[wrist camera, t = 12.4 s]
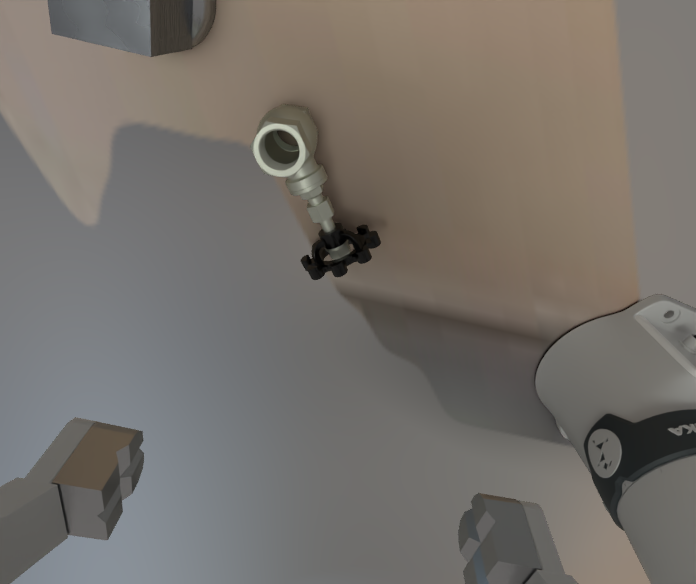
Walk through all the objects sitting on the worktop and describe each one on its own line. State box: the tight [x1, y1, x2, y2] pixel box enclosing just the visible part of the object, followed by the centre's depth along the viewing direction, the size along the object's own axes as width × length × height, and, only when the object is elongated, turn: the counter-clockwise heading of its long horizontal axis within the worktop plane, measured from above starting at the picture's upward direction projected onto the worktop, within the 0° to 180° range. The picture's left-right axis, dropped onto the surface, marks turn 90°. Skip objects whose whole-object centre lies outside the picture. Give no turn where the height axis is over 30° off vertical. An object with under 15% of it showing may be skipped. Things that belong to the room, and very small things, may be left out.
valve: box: [250, 104, 381, 280], centre depth 33 cm, size 7×7×12 cm
